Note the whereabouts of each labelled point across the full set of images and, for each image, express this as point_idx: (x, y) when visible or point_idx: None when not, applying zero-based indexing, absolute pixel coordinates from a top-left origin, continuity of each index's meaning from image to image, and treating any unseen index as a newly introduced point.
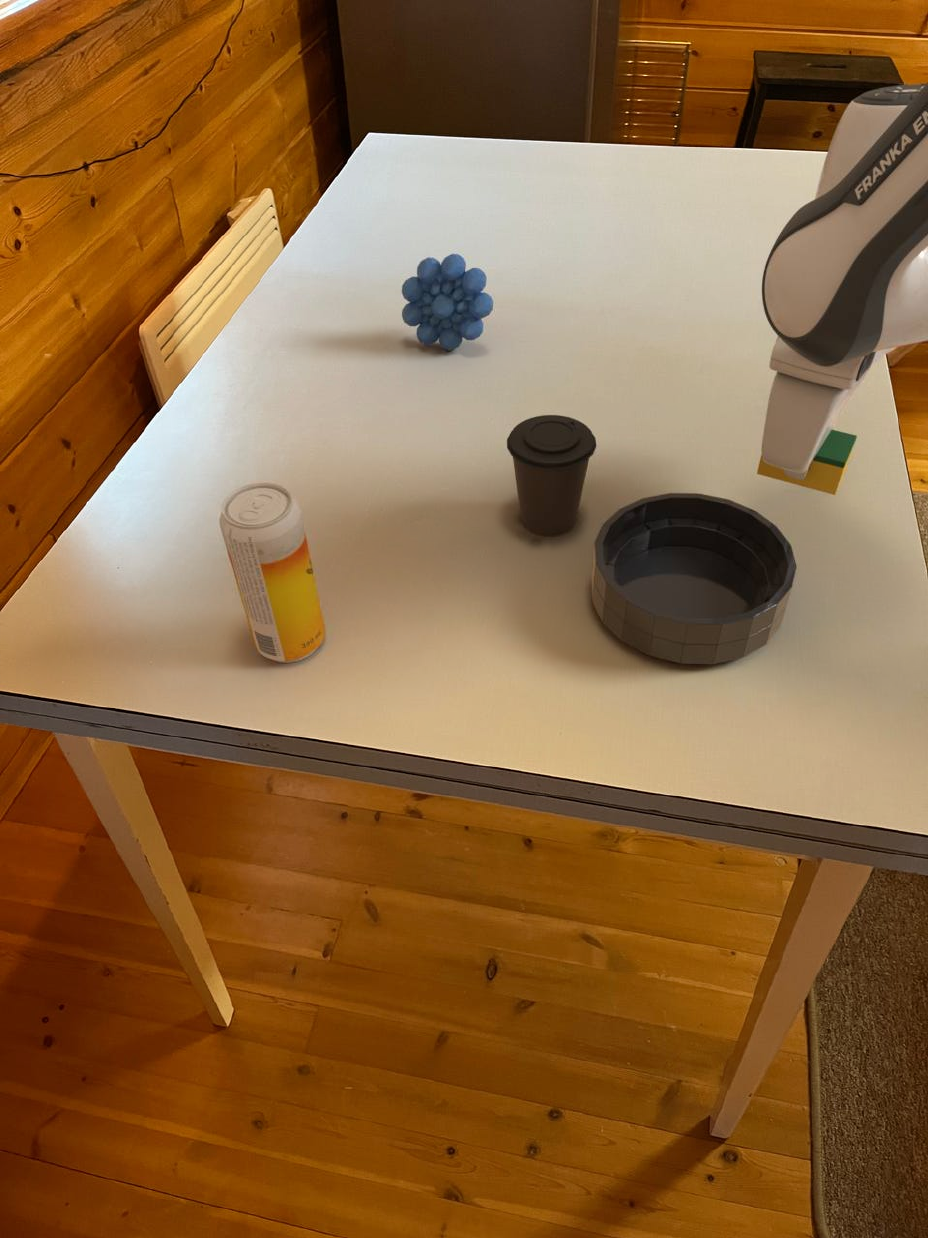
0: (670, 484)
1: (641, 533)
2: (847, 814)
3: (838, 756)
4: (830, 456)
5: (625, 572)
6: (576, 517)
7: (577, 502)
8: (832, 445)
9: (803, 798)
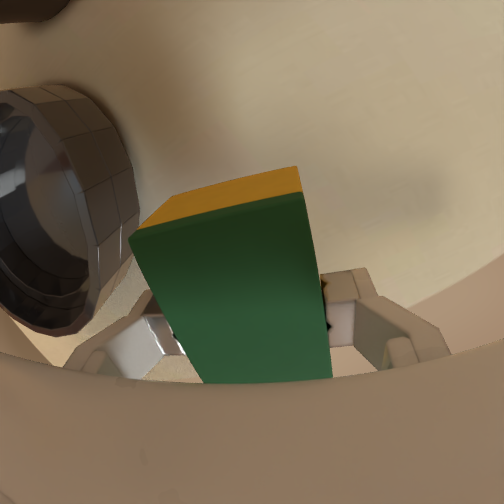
0: (219, 9)
1: (22, 115)
2: (51, 362)
3: (65, 354)
4: (209, 381)
5: (22, 128)
6: (57, 7)
7: (23, 14)
8: (254, 374)
9: (37, 344)
